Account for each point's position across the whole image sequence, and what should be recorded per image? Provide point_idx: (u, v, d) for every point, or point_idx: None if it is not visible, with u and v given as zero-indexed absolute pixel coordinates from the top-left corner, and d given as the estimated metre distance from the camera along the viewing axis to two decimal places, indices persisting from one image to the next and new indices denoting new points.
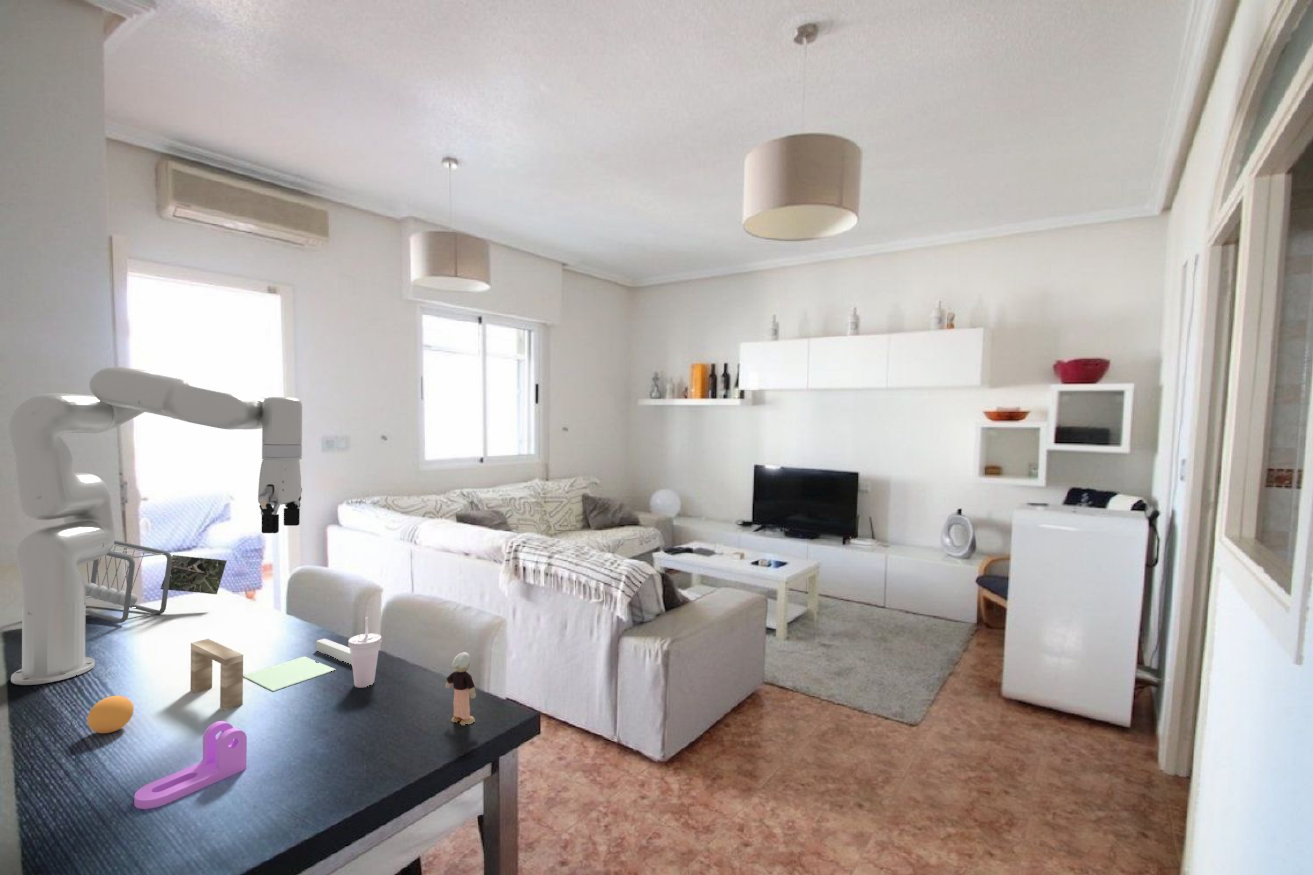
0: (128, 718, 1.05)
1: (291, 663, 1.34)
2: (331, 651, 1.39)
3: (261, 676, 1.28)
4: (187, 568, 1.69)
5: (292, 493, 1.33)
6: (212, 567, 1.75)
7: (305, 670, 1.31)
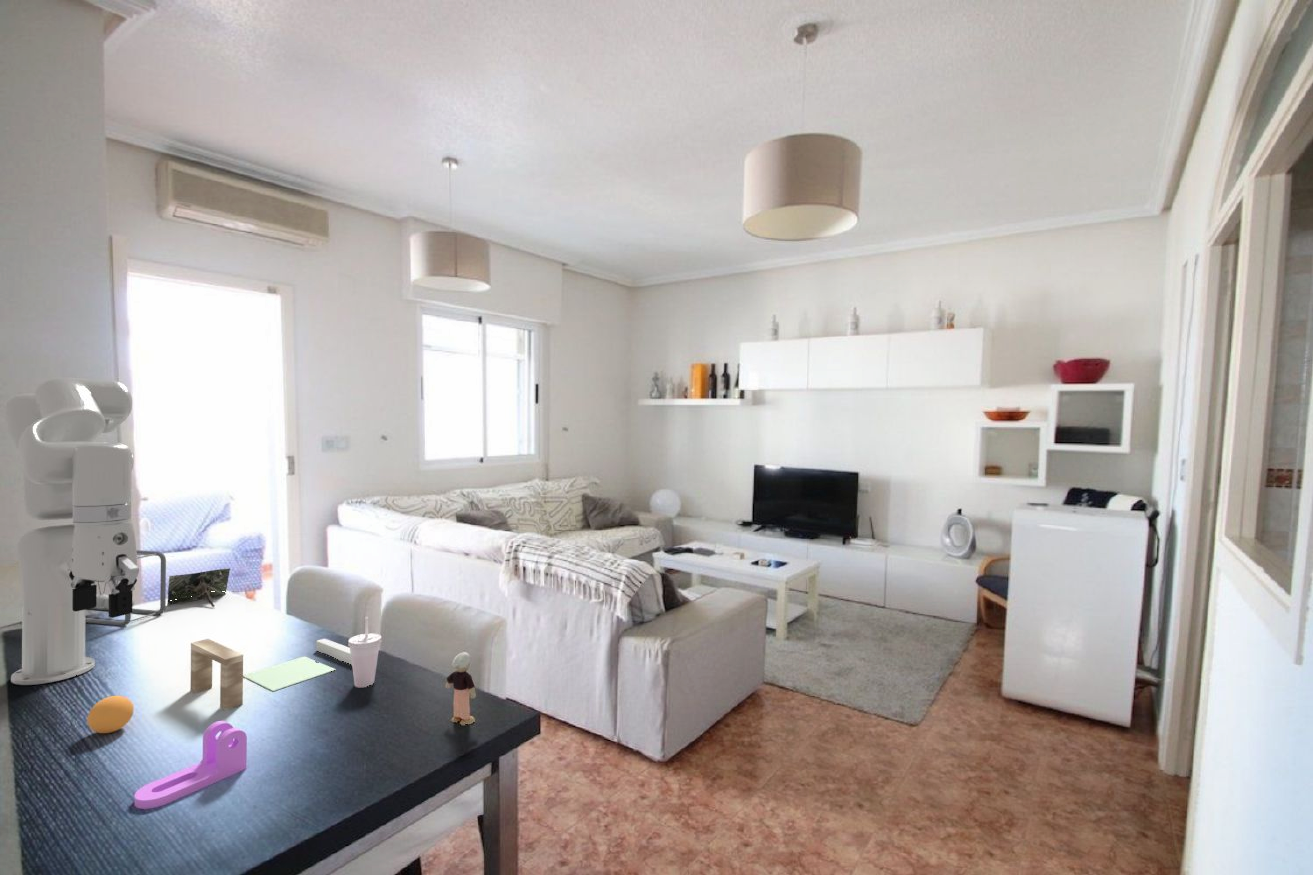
0: (128, 718, 1.05)
1: (291, 663, 1.34)
2: (331, 651, 1.39)
3: (261, 676, 1.28)
4: (207, 592, 1.77)
5: (86, 569, 1.01)
6: (216, 576, 1.82)
7: (305, 670, 1.31)
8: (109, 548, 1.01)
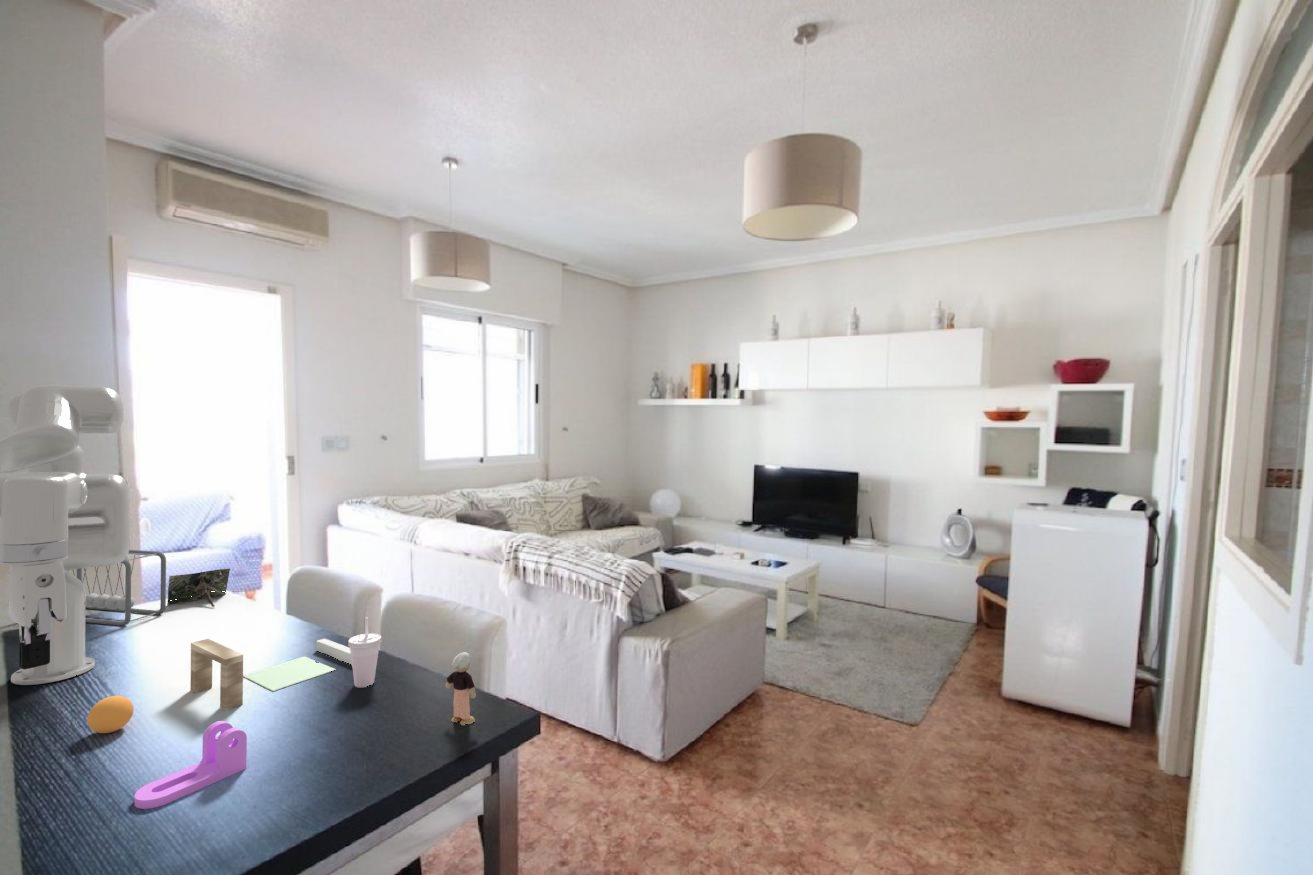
0: (128, 718, 1.05)
1: (291, 663, 1.34)
2: (331, 651, 1.39)
3: (261, 676, 1.28)
4: (207, 592, 1.77)
5: (14, 612, 0.94)
6: (216, 576, 1.82)
7: (305, 670, 1.31)
8: (30, 591, 0.92)
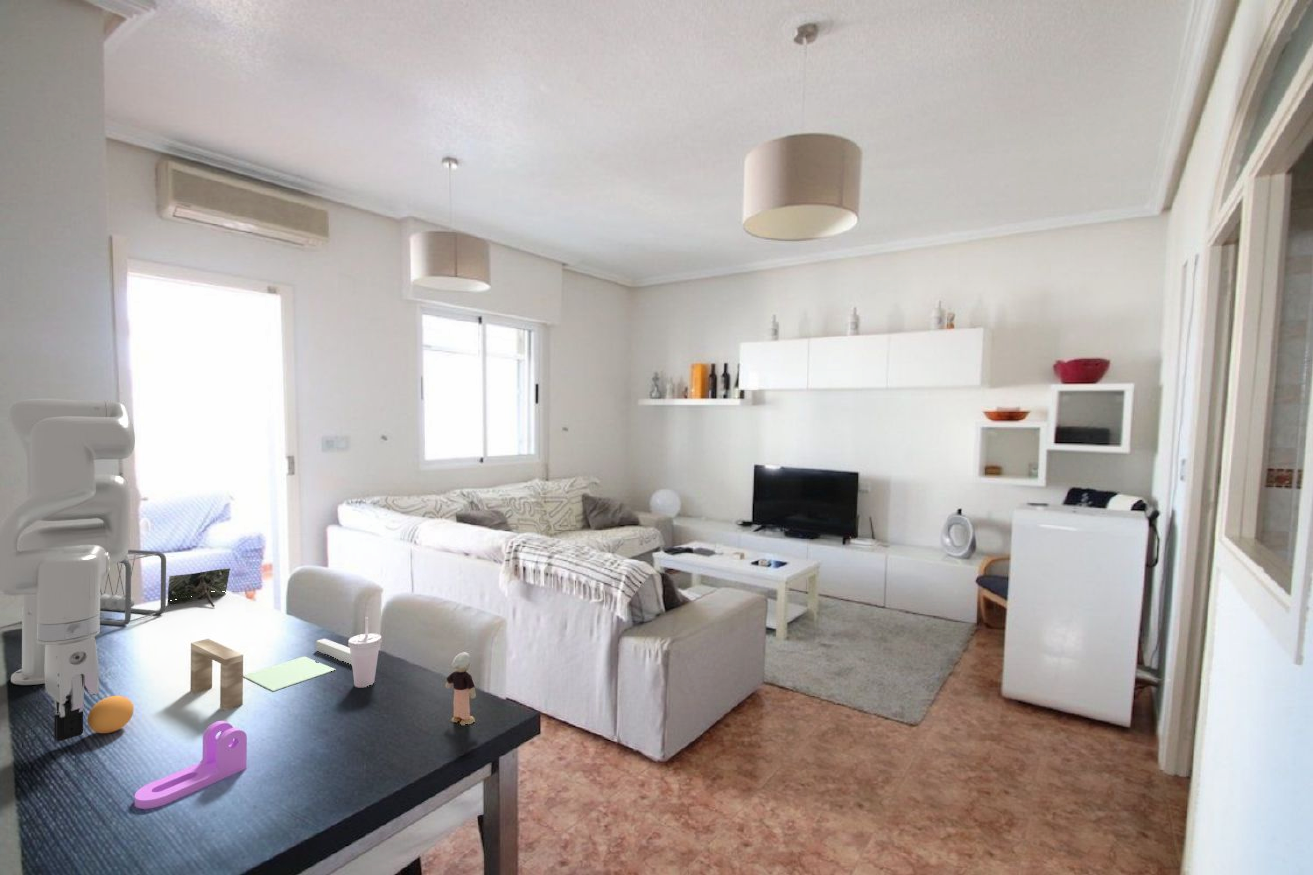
0: (128, 718, 1.05)
1: (291, 663, 1.34)
2: (331, 651, 1.39)
3: (261, 676, 1.28)
4: (207, 592, 1.77)
5: (50, 686, 0.98)
6: (216, 576, 1.82)
7: (305, 670, 1.31)
8: (64, 669, 0.96)
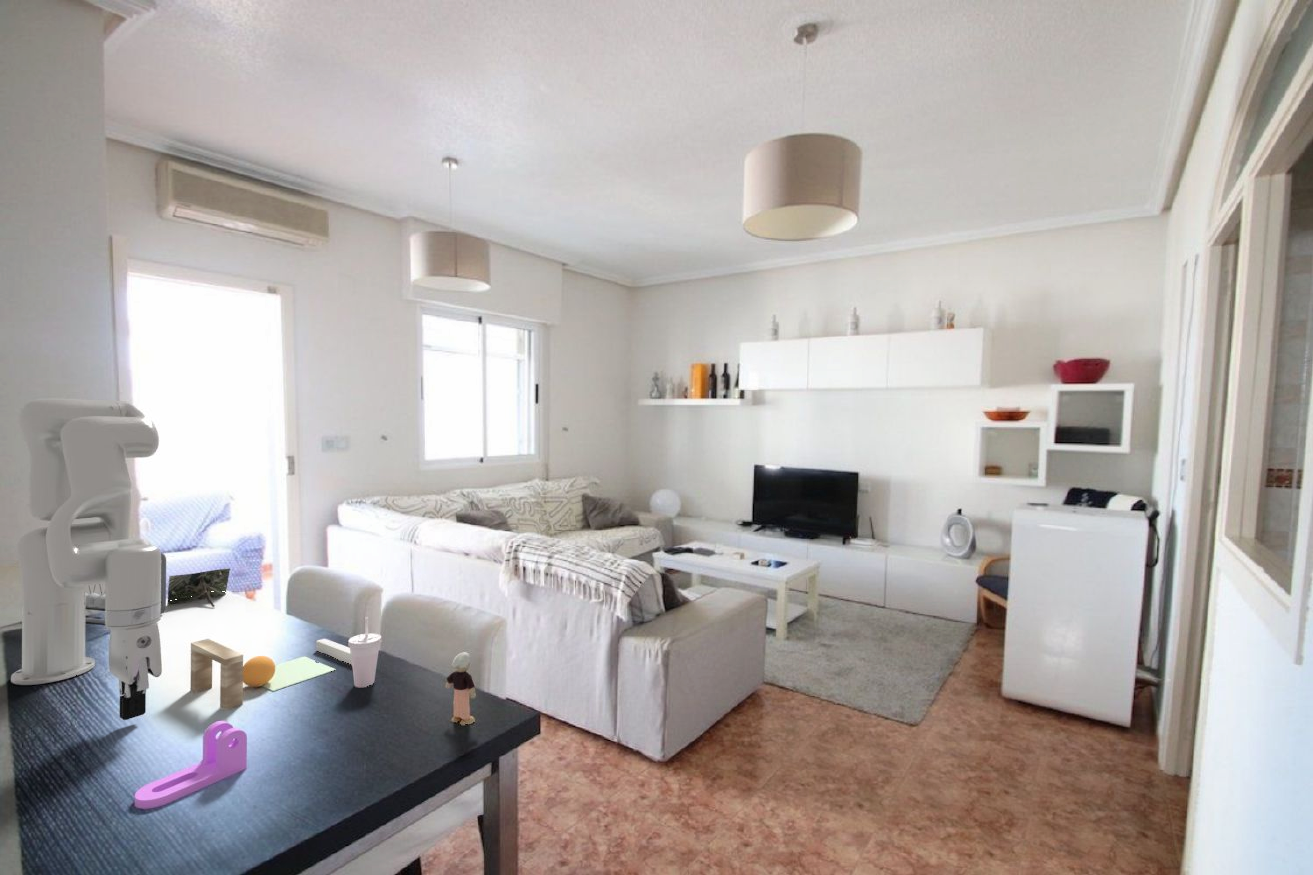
0: (263, 683, 1.23)
1: (291, 663, 1.34)
2: (331, 651, 1.39)
3: None
4: (207, 592, 1.77)
5: (116, 669, 1.05)
6: (216, 576, 1.82)
7: (305, 670, 1.31)
8: (132, 652, 1.03)
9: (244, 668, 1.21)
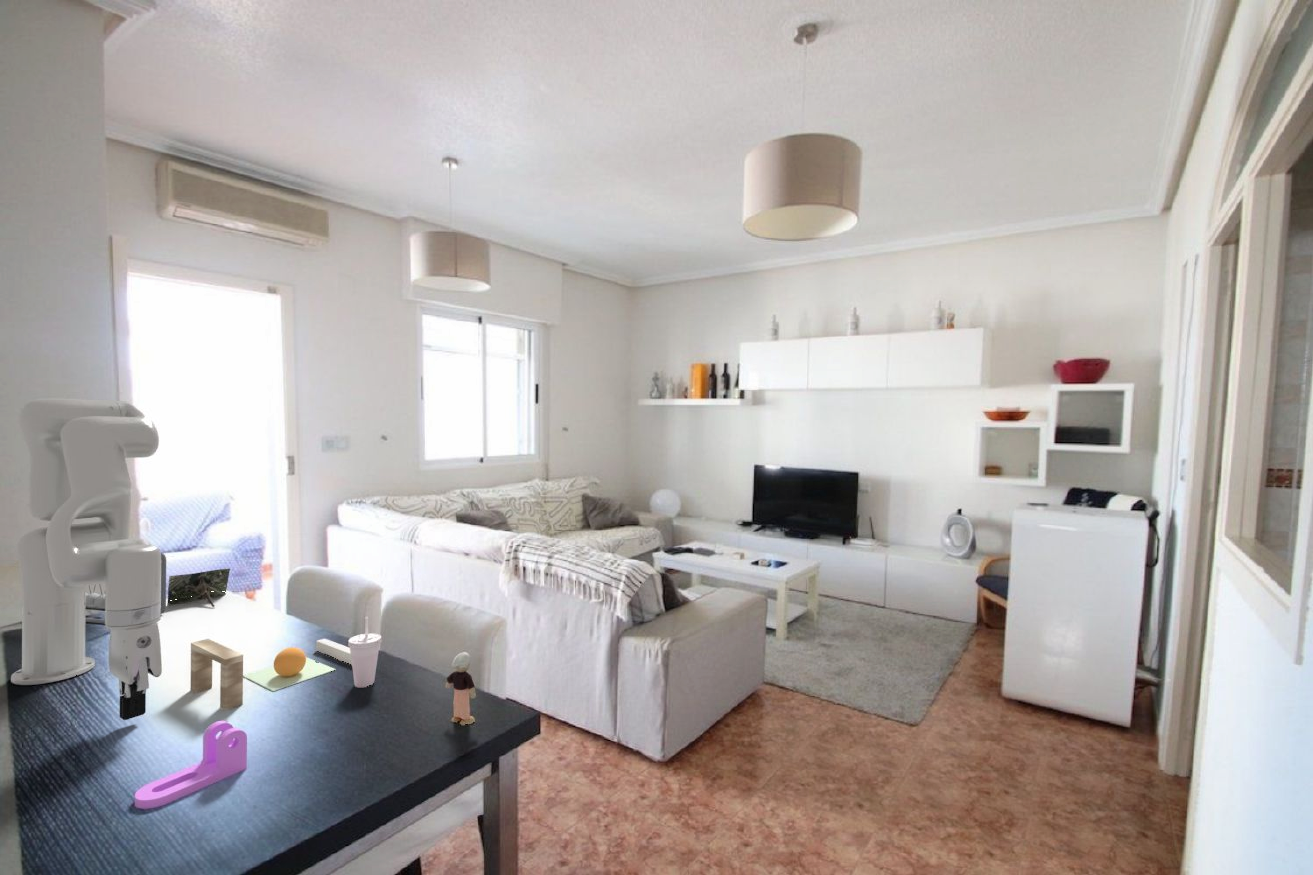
0: (285, 662, 1.26)
1: None
2: (331, 651, 1.39)
3: (261, 676, 1.28)
4: (207, 592, 1.77)
5: (116, 669, 1.05)
6: (216, 576, 1.82)
7: (305, 670, 1.31)
8: (132, 652, 1.03)
9: (302, 651, 1.31)
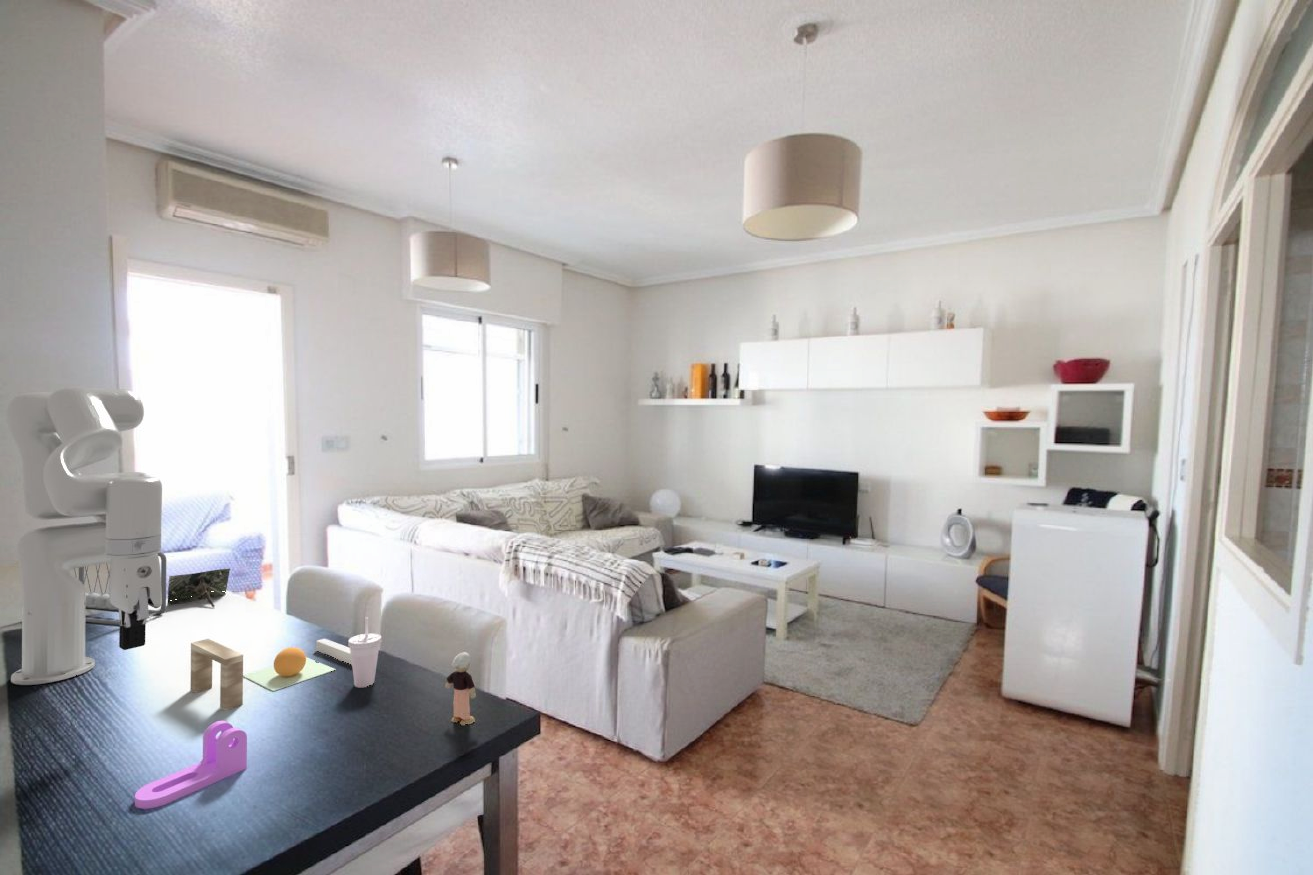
0: (285, 662, 1.26)
1: None
2: (331, 651, 1.39)
3: (261, 676, 1.28)
4: (207, 592, 1.77)
5: (116, 598, 1.05)
6: (216, 576, 1.82)
7: (305, 670, 1.31)
8: (132, 581, 1.03)
9: (302, 651, 1.31)
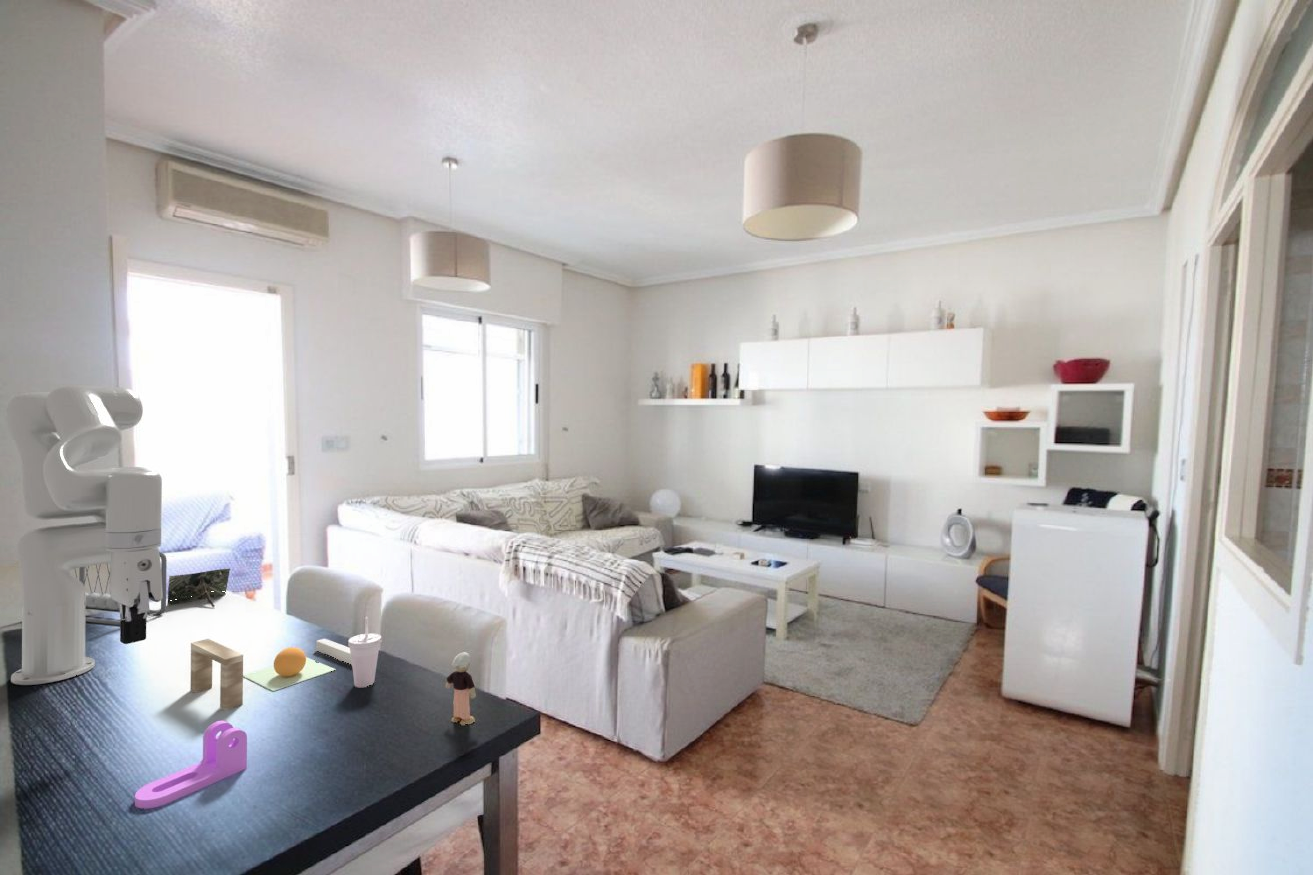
0: (285, 662, 1.26)
1: None
2: (331, 651, 1.39)
3: (261, 676, 1.28)
4: (207, 592, 1.77)
5: (117, 592, 1.05)
6: (216, 576, 1.82)
7: (305, 670, 1.31)
8: (133, 574, 1.03)
9: (302, 651, 1.31)
